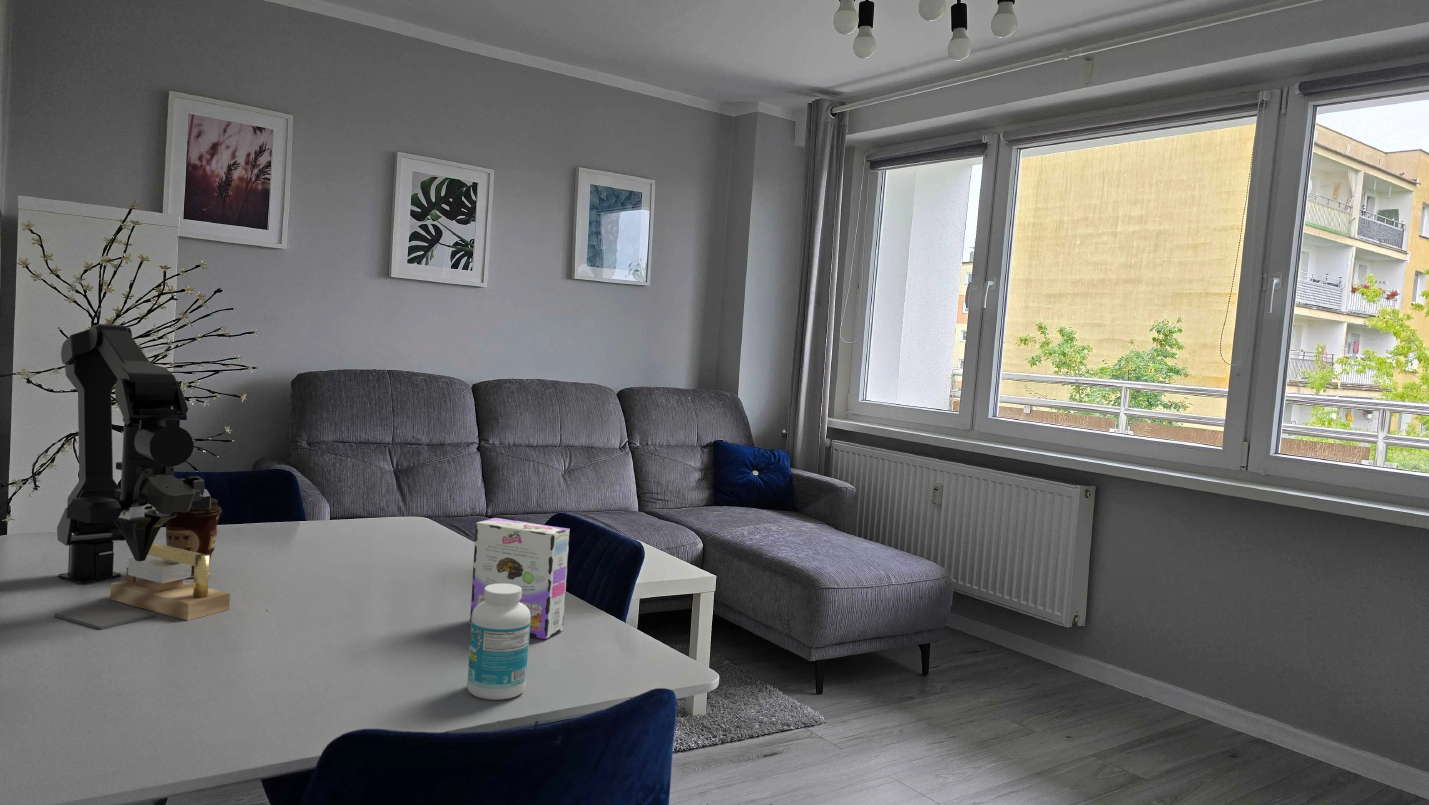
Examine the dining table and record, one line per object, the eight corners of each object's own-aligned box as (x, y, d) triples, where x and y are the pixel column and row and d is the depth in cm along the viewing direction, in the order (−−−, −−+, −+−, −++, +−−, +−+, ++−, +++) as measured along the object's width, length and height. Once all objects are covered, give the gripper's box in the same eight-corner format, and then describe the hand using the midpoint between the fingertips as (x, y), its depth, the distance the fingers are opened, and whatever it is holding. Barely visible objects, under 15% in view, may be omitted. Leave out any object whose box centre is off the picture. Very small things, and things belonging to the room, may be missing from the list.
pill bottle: (471, 679, 125) (478, 578, 124) (528, 682, 125) (535, 582, 125) (461, 700, 117) (468, 594, 116) (521, 703, 118) (529, 597, 117)
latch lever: (211, 595, 143) (213, 555, 142) (199, 598, 141) (201, 557, 140) (156, 581, 147) (158, 542, 147) (144, 584, 145) (146, 545, 145)
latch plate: (110, 599, 145) (111, 570, 144) (153, 590, 151) (154, 562, 151) (187, 620, 138) (189, 590, 138) (229, 609, 145) (230, 580, 144)
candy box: (564, 631, 148) (572, 527, 147) (545, 641, 142) (553, 533, 141) (488, 616, 152) (495, 515, 151) (467, 625, 147) (474, 520, 146)
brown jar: (191, 583, 156) (195, 506, 156) (148, 577, 158) (151, 500, 157) (228, 572, 165) (232, 498, 164) (187, 565, 167) (190, 493, 166)
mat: (54, 616, 135) (54, 613, 135) (109, 604, 143) (109, 601, 143) (100, 629, 131) (101, 626, 131) (154, 616, 139) (154, 613, 139)
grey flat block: (127, 574, 145) (128, 558, 144) (157, 569, 149) (158, 553, 149) (162, 583, 142) (163, 567, 142) (191, 577, 146) (191, 561, 146)
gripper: (120, 469, 127) (114, 583, 128) (238, 458, 144) (233, 558, 145) (66, 458, 132) (61, 569, 133) (187, 449, 149) (182, 547, 150)
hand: (140, 560), depth 140 cm, fingers closed
